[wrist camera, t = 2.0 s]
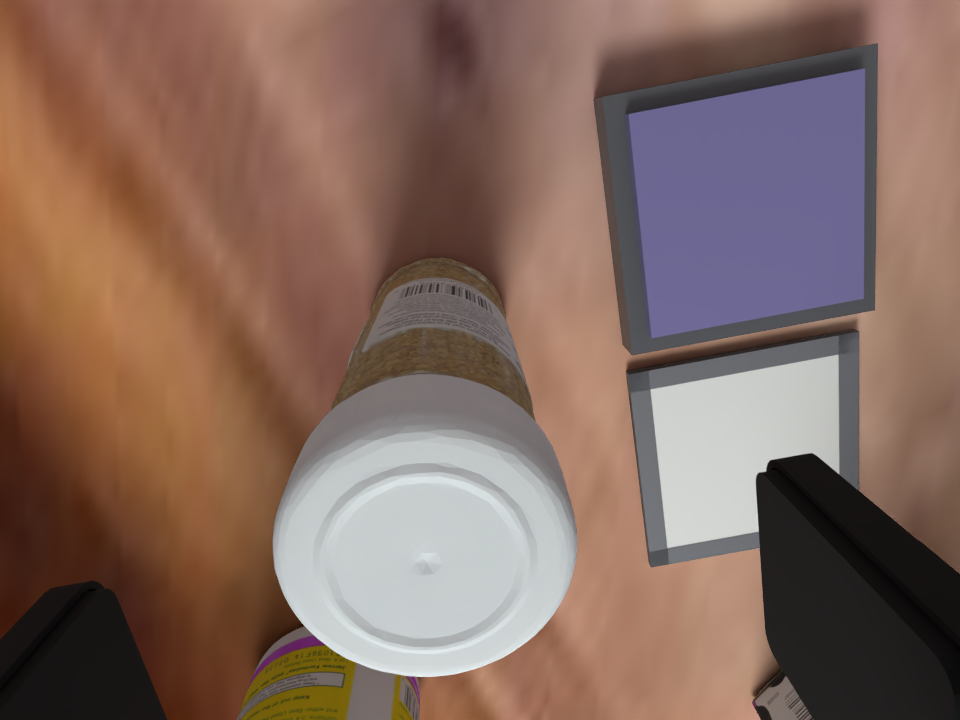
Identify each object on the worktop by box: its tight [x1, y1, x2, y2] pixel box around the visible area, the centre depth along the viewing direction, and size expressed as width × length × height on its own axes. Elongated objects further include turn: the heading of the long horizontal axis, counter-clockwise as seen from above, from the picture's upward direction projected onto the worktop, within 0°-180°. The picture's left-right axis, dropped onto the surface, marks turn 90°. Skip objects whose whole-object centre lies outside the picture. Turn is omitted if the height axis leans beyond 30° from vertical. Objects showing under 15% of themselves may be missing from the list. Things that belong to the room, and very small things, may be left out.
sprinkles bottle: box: [273, 258, 577, 677], centre depth 16 cm, size 5×5×14 cm
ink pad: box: [594, 43, 878, 355], centre depth 21 cm, size 8×8×2 cm
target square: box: [626, 329, 859, 567], centre depth 24 cm, size 8×8×1 cm
